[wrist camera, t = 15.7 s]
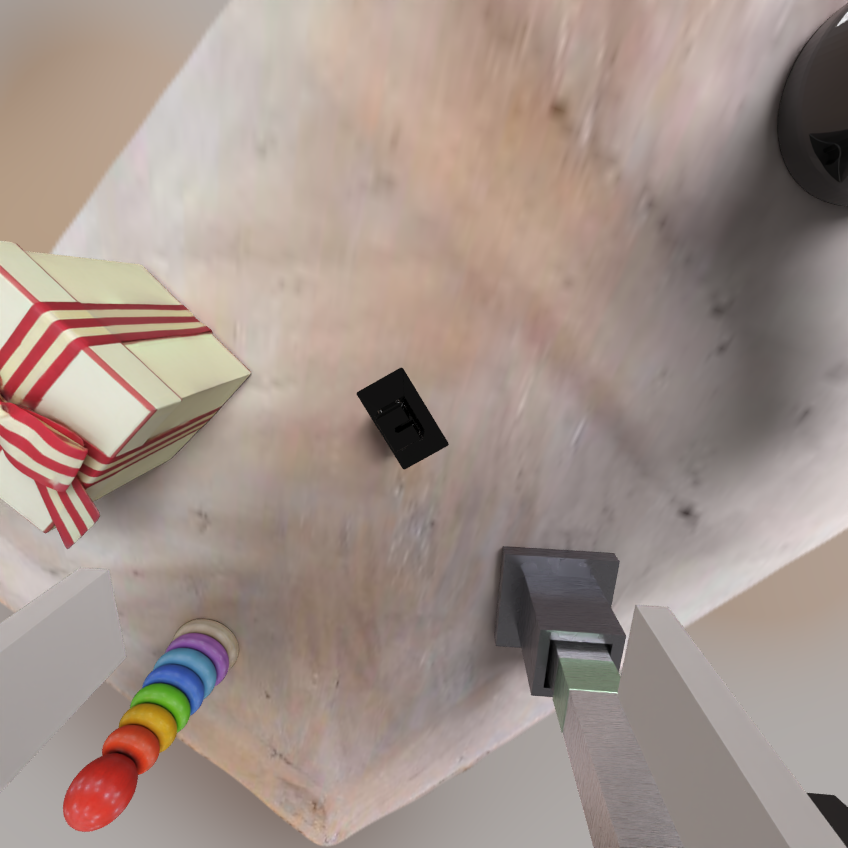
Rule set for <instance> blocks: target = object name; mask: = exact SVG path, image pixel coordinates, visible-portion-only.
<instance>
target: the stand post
mask: <svg viewBox="0 0 848 848" xmlns="http://www.w3.org/2000/svg"><path fill="white" fill-rule="evenodd" d="M546 673H547V677H548V681H549V684H550V688H551V692H552V695H553V702H554V706H555V709H556V713H557V717H558V721H559V724H560V728H561V731H562V732H563V736H564V740H565V743H566V747H567V751H568V755H569V758H570V762H571V765H572V769H573V773H574V776H575V781H576V784H577V788H578V792H579V795H580V799H581V803H582V806H583V810H584V814H585V818H586V821H587V825H588V829H589V832H590V836H591V839H592V843H593V846H594V848H684V847H683V844H682V842H681V840H680V837H679V835H678V833H677V831H676V828H675V826H674V824H673V821H672V819H671V817H670V815H669V812H668V810H667V808H666V805H665V803H664V801H663V799H662V796H661V794H660V792H659V790H658V787H657V785H656V783H655V780H654V778H653V776H652V774H651V771H650V769H649V767H648V764H647V762H646V760H645V758H644V755H643V753H642V751H641V748H640V746H639V744H638V742H637V739H636V737H635V735H634V733H633V730H632V728H631V726H630V723H629V721H628V719H627V717H626V714H625V712H624V710H623V707H622V705H621V703H620V701H619V698H618V696H617V692H618V688H619V683H620V678H621V677H620V675H619V673H618V671H617V668H616V666H615V664H614V662H613V661H612V660H611V657H610V655H609V653H608V651H607V649H606V647H605V645H604V643H590V642H577V641H563V640H550V645H549V652H548V659H547V666H546Z"/></svg>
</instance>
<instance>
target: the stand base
mask: <svg viewBox="0 0 848 848" xmlns="http://www.w3.org/2000/svg"><path fill="white" fill-rule="evenodd" d="M619 562H620V561H619V560H618V558H617V557H616V555H615V554H614V553H601V552H585V551H569V550H553V549H537V548H520V547H504V546H503V554H502V564H501V574H500V585H499V595H498V605H497V615H496V625H495V643H496V646H506V647H519V648H521V649H522V654H523V659H524V663H525V668H526V673H527V677H528V682H529V686H530V691H531V695H533V696H546V697H553V695H552V692H551V688H550V684H549V681H548V677H547V673H546V666H547V659H548V652H549V645H550V640H563V641H577V642H590V643H604V645H605V647H606V649H607V651H608V653H609V655H610V657H611V660H612V661H613V662H614V664H615V666H616V668H617V671H618V673H619V668H620V663H621V658H622V653H623V648H624V644H625V639H626V635H625V633H624V631H623V629H622V627H621V625H620V624H619V622H618V620H617V618H616V616H615V614H614V613H613V611H612V609H611V605H612V599H613V594H614V589H615V583H616V578H617V573H618V567H619Z"/></svg>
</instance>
